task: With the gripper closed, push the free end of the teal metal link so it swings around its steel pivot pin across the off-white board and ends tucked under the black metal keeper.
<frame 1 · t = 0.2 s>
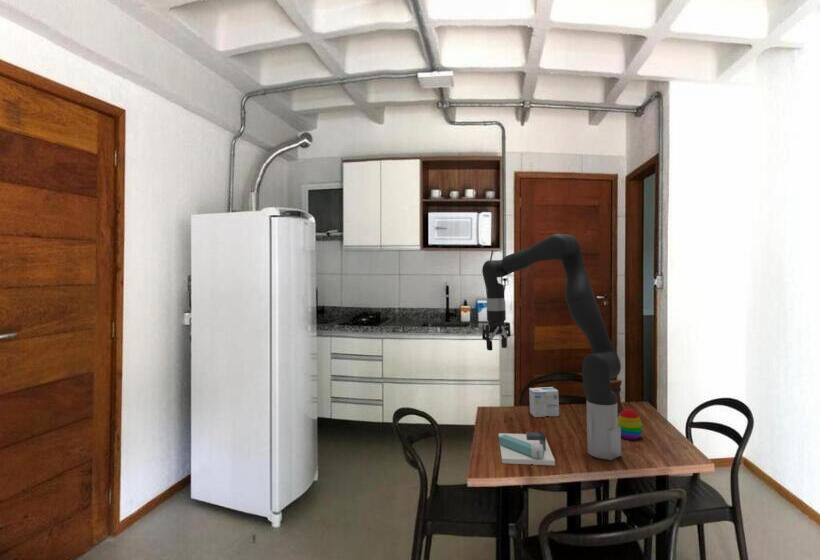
hand: (497, 349, 178), 29 cm above the table, tool pointing down, fingers open, 8 cm apart
board: (524, 450, 147), on the table
keeper: (535, 441, 144), on the board, point 4 cm above the table
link: (521, 444, 143), point 4 cm above the table, hinge at 45.0°
decorative egg: (629, 437, 156), on the table
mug: (605, 413, 184), on the table
light bulb box: (544, 414, 183), on the table
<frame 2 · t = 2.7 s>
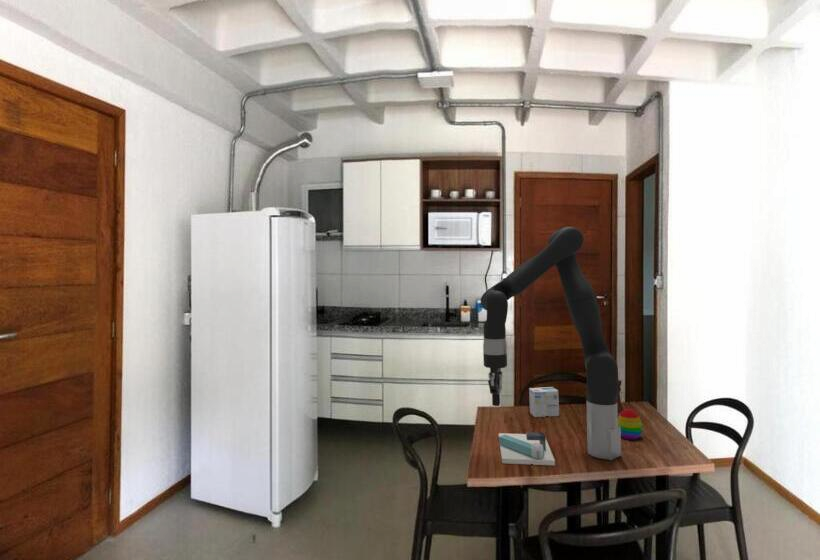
hand: (496, 405, 142), 17 cm above the table, tool pointing down, fingers closed
nothing on the table moved.
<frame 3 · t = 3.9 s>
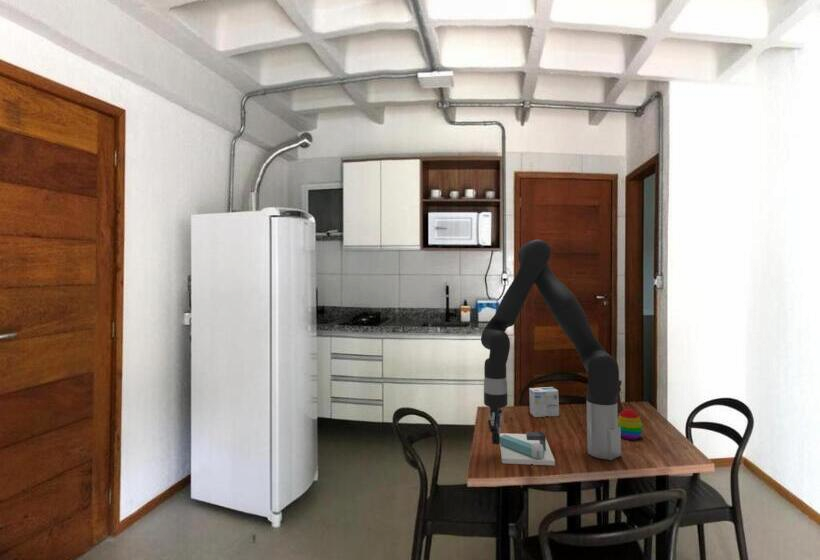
hand: (496, 443, 142), 4 cm above the table, tool pointing down, fingers closed
nothing on the table moved.
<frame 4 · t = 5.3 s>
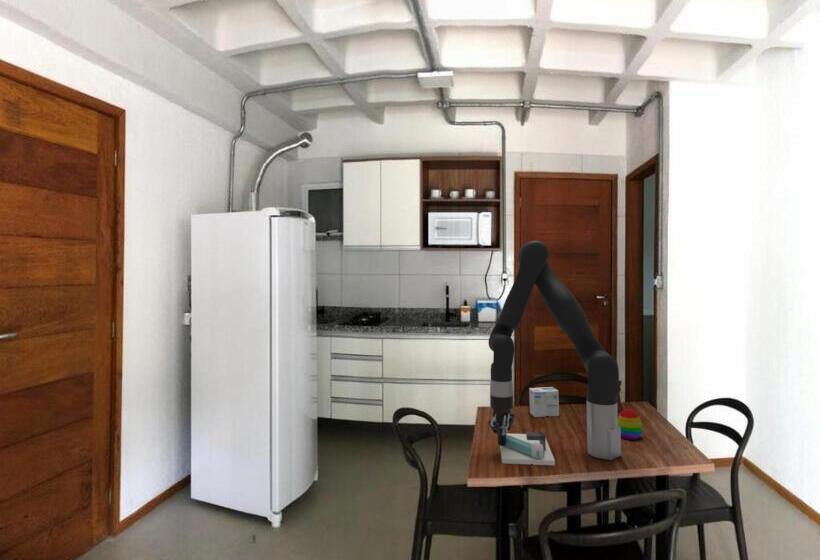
hand: (502, 445, 145), 3 cm above the table, tool pointing down, fingers closed
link: (521, 444, 143), point 4 cm above the table, hinge at 43.1°, touching gripper
everything else where it was.
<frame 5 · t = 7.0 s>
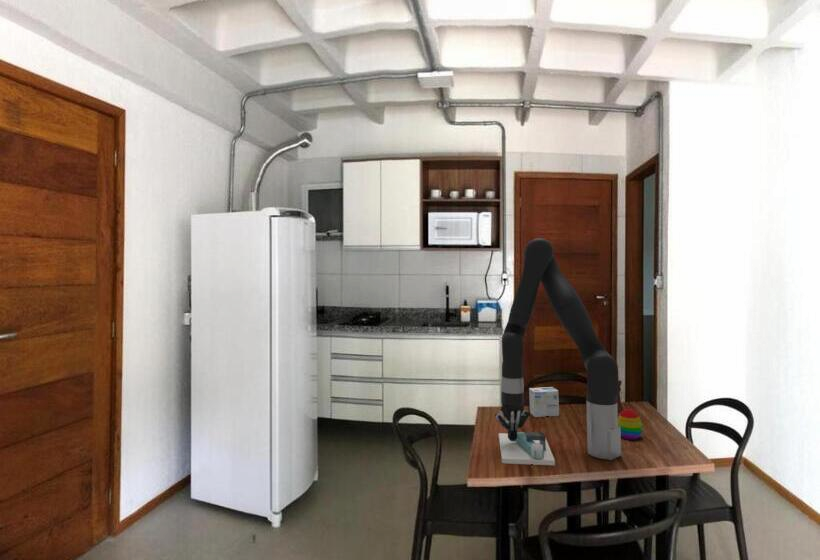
hand: (512, 440, 149), 3 cm above the table, tool pointing down, fingers closed
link: (528, 443, 144), point 4 cm above the table, hinge at 17.5°, touching gripper
everything else where it was.
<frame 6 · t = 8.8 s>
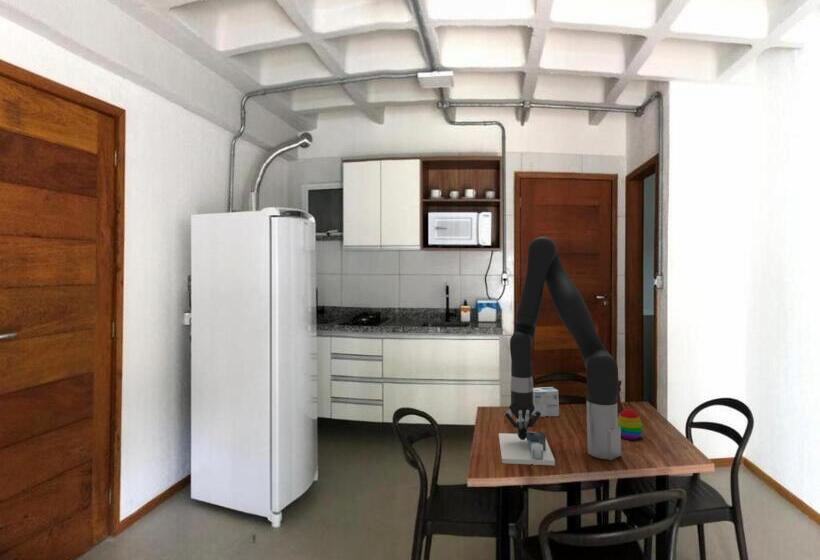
hand: (522, 438, 150), 3 cm above the table, tool pointing down, fingers closed
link: (534, 443, 144), point 4 cm above the table, hinge at 0.3°, touching gripper
everything else where it was.
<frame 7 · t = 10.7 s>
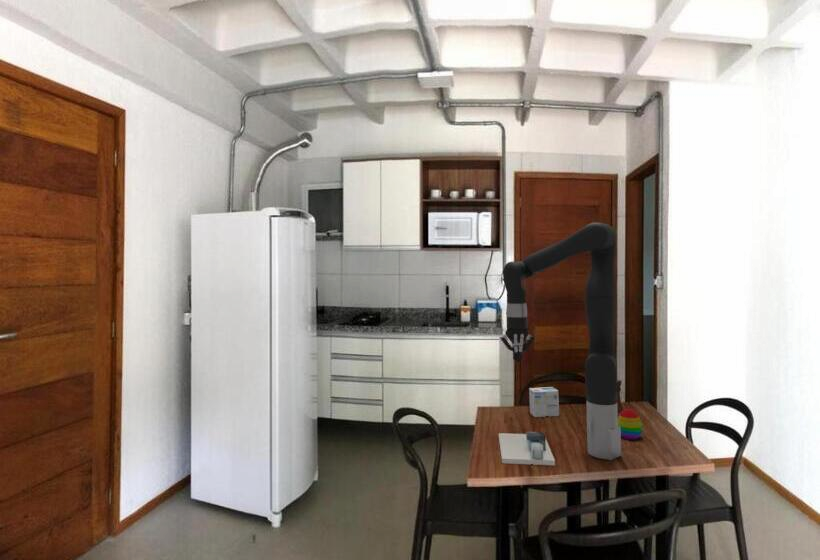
hand: (517, 361, 162), 27 cm above the table, tool pointing down, fingers closed
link: (534, 443, 144), point 4 cm above the table, hinge at -0.2°
everything else where it was.
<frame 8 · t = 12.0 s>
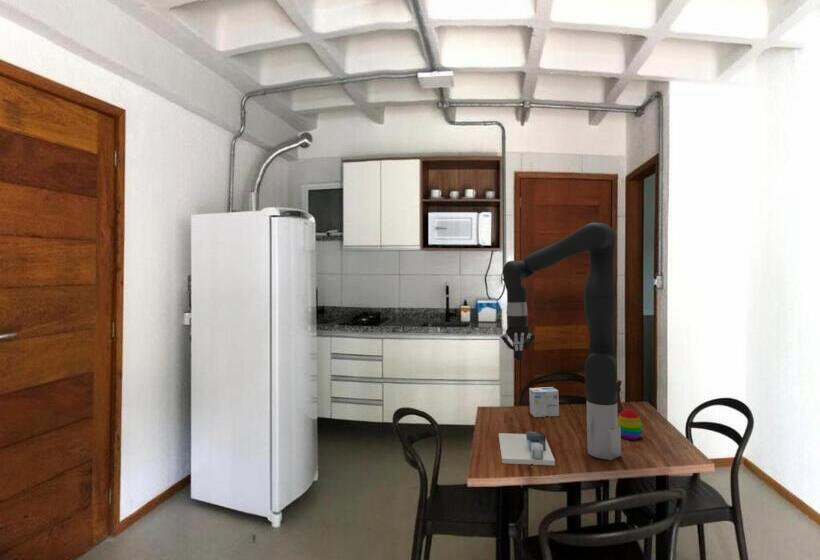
hand: (518, 360, 163), 27 cm above the table, tool pointing down, fingers closed
nothing on the table moved.
at the end: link at +0° (first picture: +45°) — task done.
